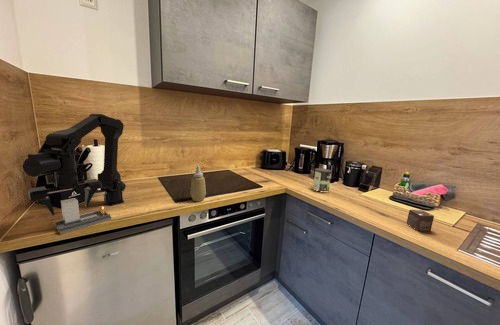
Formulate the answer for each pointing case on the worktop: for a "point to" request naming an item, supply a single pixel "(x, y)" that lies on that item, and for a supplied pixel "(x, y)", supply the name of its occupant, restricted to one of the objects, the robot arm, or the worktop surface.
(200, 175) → the squeeze bottle
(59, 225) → the rail
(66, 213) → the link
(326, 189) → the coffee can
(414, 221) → the box
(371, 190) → the worktop surface
